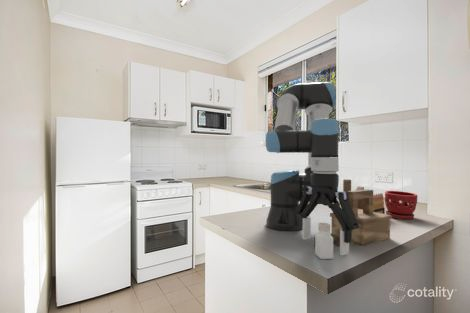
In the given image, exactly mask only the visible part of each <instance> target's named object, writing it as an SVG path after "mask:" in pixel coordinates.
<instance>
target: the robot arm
mask: <svg viewBox="0 0 470 313" xmlns="http://www.w3.org/2000/svg"><path fill="white" fill-rule="evenodd" d="M336 96H337V95H336V90H335V85H334V83H333V82H331V81H320V82H307V83H296V84H293V85H290V86H289V87H287V88H286V89H284V90H283V91H282V92H281V93H280V95H279V96H278V97H277V101H276V107H277V114H276V117H275V118H276V119H275V124H274V128H273V130H269V131H267V132H266V134H265V148H266V151H267V152H268V153H276V154H280V153H281V154H285V153H286V154H288V153H291V154H292V153H302V154H304V153H305V154H306V153H307V155H308V156H307V158H308V159H307V160H308V161H307V162H308V163H307V164H308V165H307V166H306V167H305V168H304V173H300V170H299V169H289V170H280V171H274V172H273V173H272V174H271V175H270V208H269V210H268V214H267V217H266V221H265V222H266V224H265V225H266V226H267V227H268V228H270V229H272V230H277V231H282V232H283V231H284V232H294V231H300V230H302V240H305V241H306V240H309V239H311V238H312V237H311V232H312V231H311V229H312V228H311V225H312V224H311V223H312V222H311V220H312V219H311V217H310V214H312V212H313V211H314V210H315V209H316V207H317V206H318V205H323V206H327V207H328V208H329V209H331V211H332V213H334V215H335V216H336V218H337V220H338V221H339V223H340V225H341V226H342V228H343V229H341V230H340V246H339V255H341V256H345V255H348V254H350V243H352V242H351V241H352V230H354V229H358V228H359V225H358V222H357V220H356V217H355V215H354V212H353V210H352V207H351V205H350V203H349V200H348V193H347V192H343V191H339V183H340V182H339V181H340V178H339V177H340V176H339V174H338V173H337V172H339V171H340V170H339V168H340V166H339V132H340V129H339V120H337V119H336V118H330V113H332V111H333V109H334V108H336V103H337V98H336ZM297 110H304V113H305V114H306V115H307V117H308V119H307V120H308V122H307V124H308V126H307V128H308V129H305V130H299V129H298V130H296V122H297V121H296V120H297V118H296V117H297Z"/></svg>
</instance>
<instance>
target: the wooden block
mask: <svg viewBox="0 0 470 313" xmlns="http://www.w3.org/2000/svg"><path fill="white" fill-rule="evenodd" d="M342 183H343V184H342V192H347V191H352V180H351V179H343V180H342ZM355 190H365V187H364V186H357V187H356V189H355ZM358 209H362V210H363V199H358Z"/></svg>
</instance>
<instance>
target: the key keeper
mask: <svg viewBox="0 0 470 313" xmlns="http://www.w3.org/2000/svg"><path fill="white" fill-rule="evenodd" d="M330 235H331V236H332V237H333V245H334V246H338V247H340V236H339V235H336V234H333V233H332V232H331V233H330ZM313 247H314V248H315V236H314V237H313Z"/></svg>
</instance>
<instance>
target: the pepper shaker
mask: <svg viewBox="0 0 470 313" xmlns="http://www.w3.org/2000/svg"><path fill="white" fill-rule="evenodd" d="M317 226H318V229H317V230H318V233H316V234H315V235H314V237H315V247H314V248H315V252H314V254H315V255H316V256H317V257H318V258H319V259H320V260H331V259H333V258H334V244H333V237H332V236H331V235H330V234H331V224H330V223H328V222H319V223H318V225H317Z"/></svg>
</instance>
